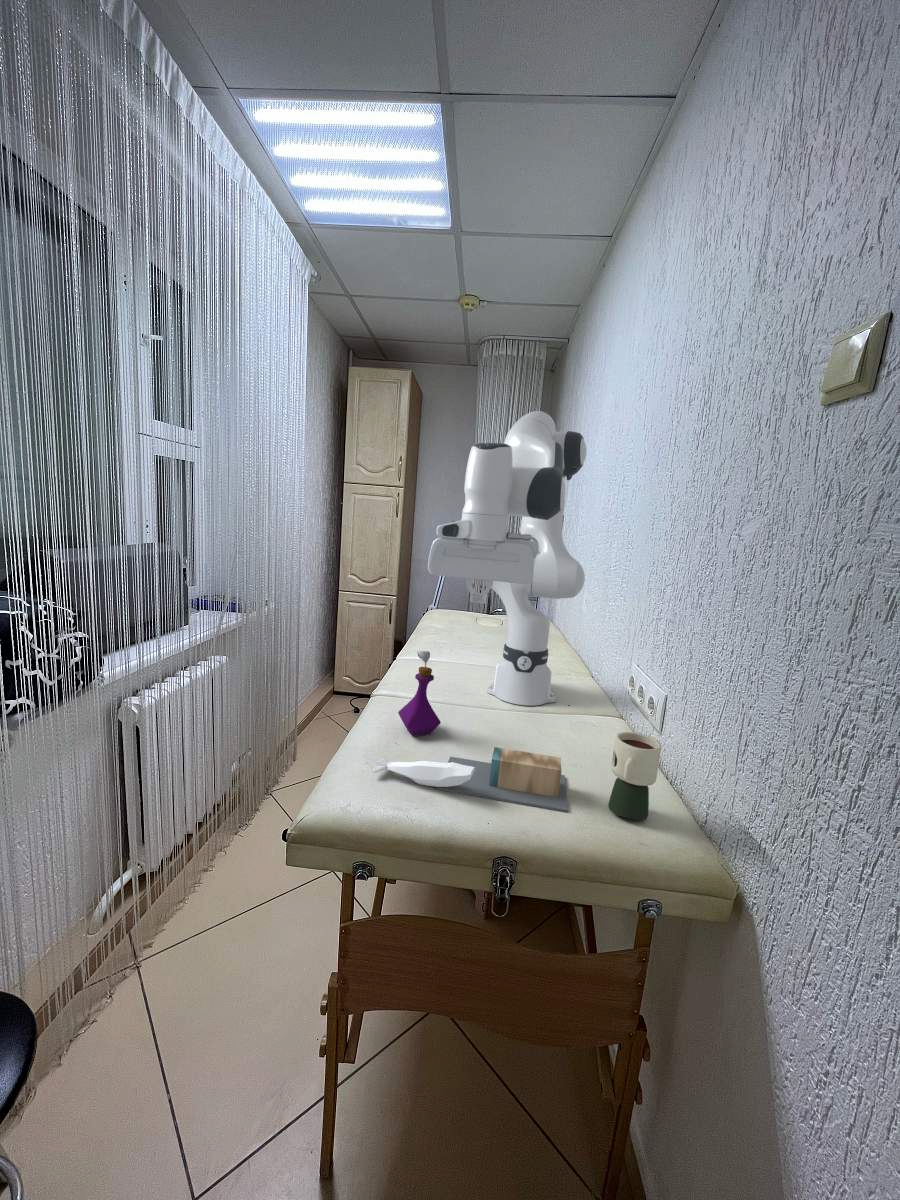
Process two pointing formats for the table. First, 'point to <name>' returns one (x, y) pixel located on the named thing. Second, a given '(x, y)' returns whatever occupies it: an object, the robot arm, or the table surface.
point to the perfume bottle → (420, 704)
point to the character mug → (633, 774)
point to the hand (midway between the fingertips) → (477, 602)
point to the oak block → (525, 772)
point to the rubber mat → (482, 789)
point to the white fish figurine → (429, 772)
